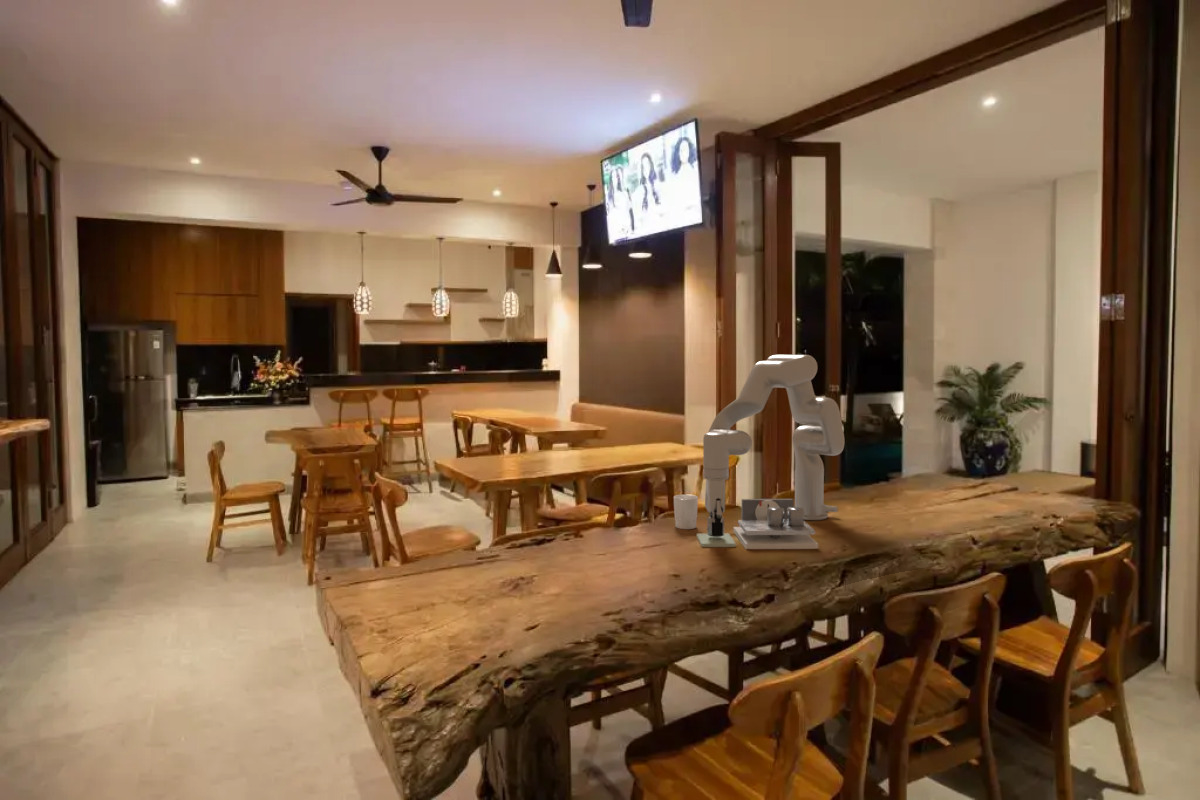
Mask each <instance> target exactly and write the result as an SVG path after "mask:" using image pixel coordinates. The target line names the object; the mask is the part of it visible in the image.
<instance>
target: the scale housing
mask: <svg viewBox="0 0 1200 800" xmlns="http://www.w3.org/2000/svg"><path fill="white" fill-rule="evenodd" d="M769 507H780V508H784V520H787V508H788V507H794V499H792V498H741V515H740V516H741V518H740V520H767V508H769ZM732 530H733V533H734V534H735V536H736V537H737V539H738V541H739V542H740V543H741V545H742V546H743V547H744V549H745V550H812V549H813V550H815V549H817V550H818V549H819V542H817V541H816V540H814V538H813V537H811V535H746V534H745V532H744V531H743V530H742V528H741V527H740V526H733V527H732Z"/></svg>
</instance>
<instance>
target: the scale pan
mask: <svg viewBox="0 0 1200 800" xmlns="http://www.w3.org/2000/svg"><path fill="white" fill-rule="evenodd" d="M737 524H738V527H741V528H742V530H743V531H744V532H745V534H746V535H809V536H813V535H816V530H815V529H814V528H813V527H812V526H810V525H809V524H808V523H807V522H806V520H804V526H802V527H791V526H788V525H787V520H784V526H783V527H770V526H768V525H767V520H741V519H738V521H737Z"/></svg>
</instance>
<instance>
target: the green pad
mask: <svg viewBox="0 0 1200 800" xmlns="http://www.w3.org/2000/svg"><path fill="white" fill-rule="evenodd" d="M696 538H697V541H698V543H699V544H700V547H701V548H735V547H737V546H736V545H737V544H736V542H735V541H734V539H733V537H732V536H731V534H730V533H727V532H726V533H725V532H724V536H721V537H713V536H709V535H707V533H696Z"/></svg>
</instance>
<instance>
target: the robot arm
mask: <svg viewBox="0 0 1200 800" xmlns="http://www.w3.org/2000/svg"><path fill="white" fill-rule="evenodd" d="M817 372H818V362H817V361H816V359H815V358H814V357H813V356H812V355H809V354H773V355H771V356H769V357H768V358H767V359H766V360H760V361H758V362H756V363H755V364H754V365H753V366H752V368H751V370H750V372H749V374H748V376H747V378H746V381H745V383H744V385H743V387H742V388H741V391H740V393H739V395H738V397H736V399H734V400H733V401H732V402H730V403H729V404H728V405H726V406H725V407H724V408H723V409H721V411H720V412H718V414H716V416H715V418H714V419H713V421H712V423H711V425H710V427H709V430H708V431H707V432H706V433H705V434H704V435H703V440H702V441H703V446H702V447H703V449H702V451H703V452H702V453H703V457H702V459H703V462H702V463H703V464H702V465H703V469H702V470H703V471H702V472H703V479H704V480H705V490H704V491H705V493H704V494H705V495H704V507H705V509H706V511H707V512H708V513H709V517H713V522H712V536H722V535H723V522H722V517H723V513H725V511H726V480H729V474H730V473H729V470H730V469H729V467H730V465H729V463H730V461H729V459H730V456H742V455H743V456H744V455H745V454H747V453H748V452H749V451H751V449H752V446H753V440H752V437H751V435H750V434H749V433H748V432H746V431H743V430H737V429H731V428H732V427H733V425H735V424H737V423H738V422H740V421H741V420H744V419H745V418H746V419H747V418H749V417H751V416H754V415H756V414H759V413H761V412H762V411H763V410H764V408H765V406H766V403H767V401H768V399H769V397H770V395H771V392H772V391H773V389H775V388H778V389H779V388H781V389H785V390H786V393H787V398H788V402H789V408H790V412H791V416H792V419H793V421H794V422H795V423H797V424H800V426H798V427H796V429H794V431H793V433H792V439H791V440H792V445H793V452H794V466H795V467H794V470H795V471H794V507H800V508H804V521H821V520H822V521H823V520H827V519H828V518H829V515H828V513H829V512H831V513H833V512H834V513H835V512H836V513H837V512H838V510H839V509H838V506H837V505H829V504H828V505H827V504H825V503H824V484H825V483H824V482H825V481H824V476H825V466H824V462H823V460H822V458H821V455H822V456H823V455H824V456H830V457H831V456H832V457H834V456H838V455H840V454H842V452H843V451H844V448H845V443H846V442H845V433H844V429H843V428H844V427H843V423H842V418H841V412H840V408H839V404H838V403H837V402H836V401H835V399H833V398H831V397H826V396H823V397H822V396H817V395H816V394H815V391H814V388H813V384H812V380H813V379H814V378H815V376H816V374H817Z"/></svg>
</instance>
